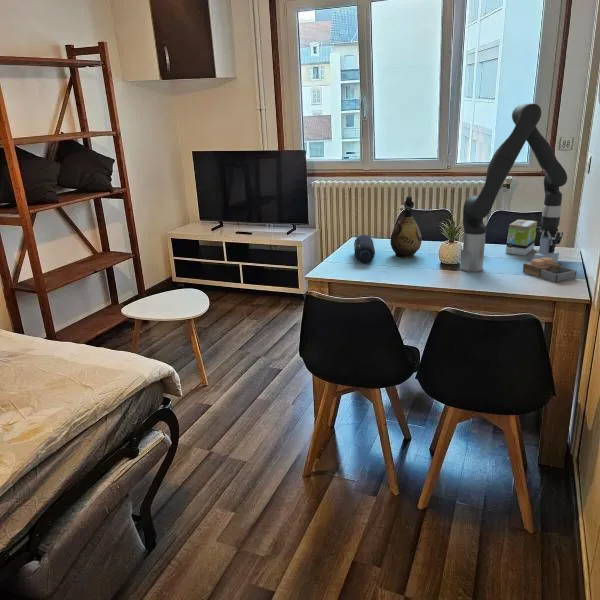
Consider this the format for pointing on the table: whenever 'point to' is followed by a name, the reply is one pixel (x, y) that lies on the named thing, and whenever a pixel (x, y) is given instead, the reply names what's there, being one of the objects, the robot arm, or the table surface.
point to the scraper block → (546, 250)
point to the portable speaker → (364, 249)
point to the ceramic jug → (406, 233)
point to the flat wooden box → (539, 268)
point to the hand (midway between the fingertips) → (546, 251)
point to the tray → (558, 274)
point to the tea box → (521, 237)
